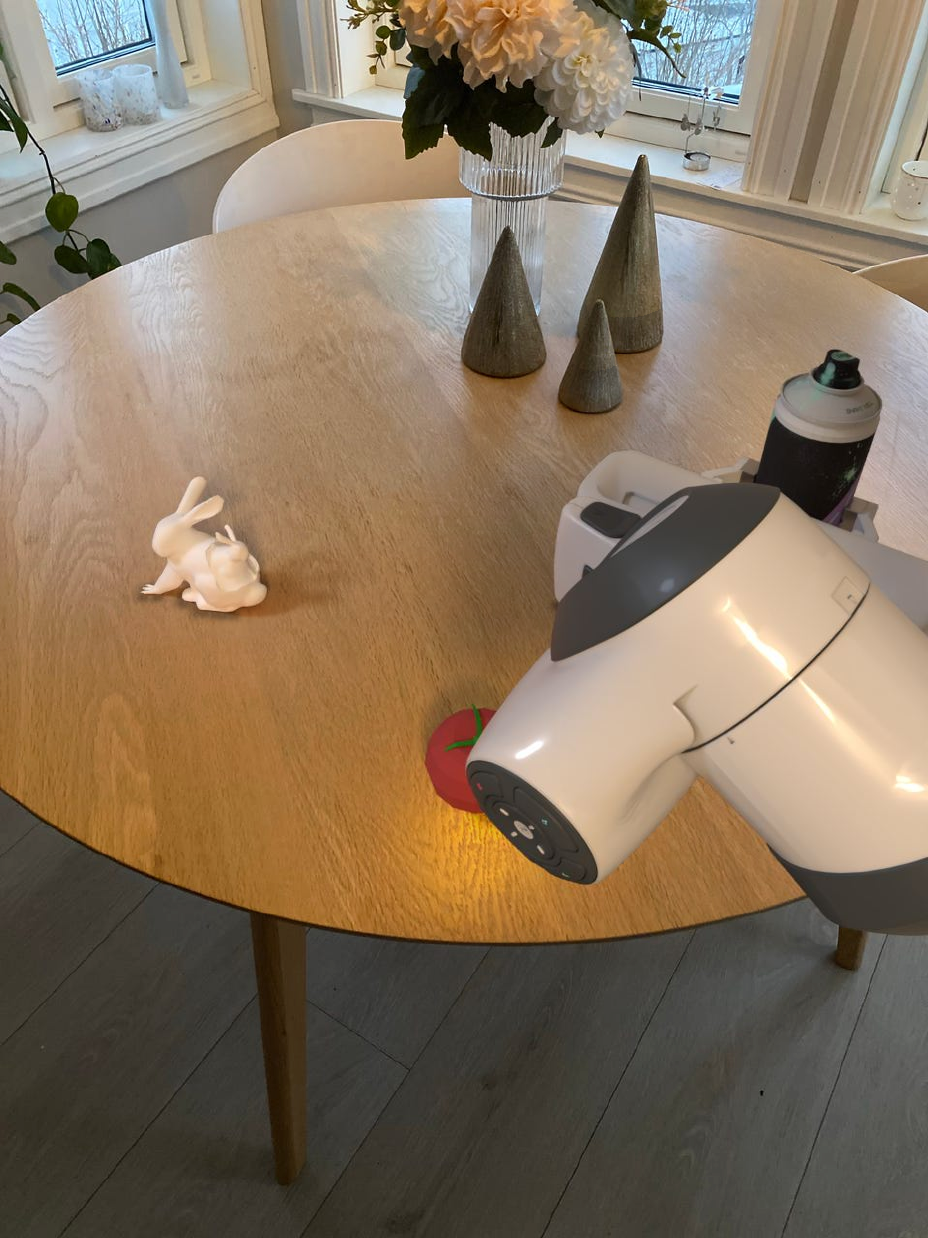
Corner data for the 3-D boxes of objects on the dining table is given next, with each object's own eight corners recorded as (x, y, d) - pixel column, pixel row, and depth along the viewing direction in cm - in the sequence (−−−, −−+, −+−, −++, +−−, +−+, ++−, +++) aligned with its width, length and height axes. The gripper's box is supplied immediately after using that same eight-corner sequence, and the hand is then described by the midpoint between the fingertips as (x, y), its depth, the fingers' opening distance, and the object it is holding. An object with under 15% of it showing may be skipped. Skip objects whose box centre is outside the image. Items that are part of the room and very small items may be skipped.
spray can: (711, 648, 62) (781, 369, 49) (727, 596, 66) (796, 323, 52) (797, 671, 61) (895, 390, 47) (808, 616, 64) (902, 341, 51)
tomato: (522, 743, 75) (527, 676, 70) (540, 826, 70) (547, 761, 64) (421, 752, 75) (418, 686, 69) (430, 837, 69) (428, 772, 64)
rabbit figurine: (138, 593, 88) (112, 508, 81) (186, 545, 93) (165, 461, 86) (251, 628, 85) (233, 543, 78) (294, 577, 90) (281, 492, 83)
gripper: (929, 662, 42) (1013, 509, 50) (536, 495, 50) (661, 388, 59) (885, 754, 46) (969, 599, 54) (530, 585, 55) (647, 474, 63)
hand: (806, 488), depth 56 cm, fingers closed on spray can, 5 cm apart
